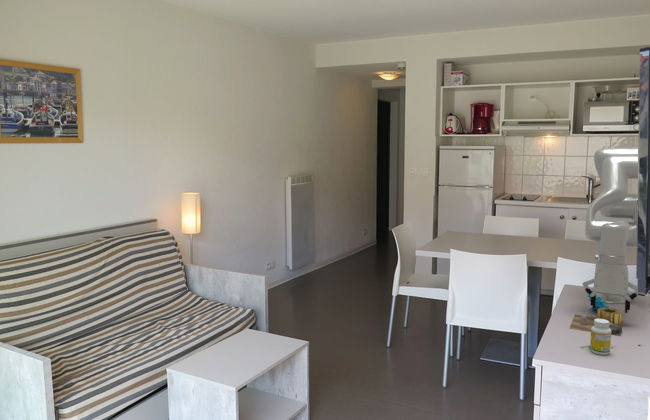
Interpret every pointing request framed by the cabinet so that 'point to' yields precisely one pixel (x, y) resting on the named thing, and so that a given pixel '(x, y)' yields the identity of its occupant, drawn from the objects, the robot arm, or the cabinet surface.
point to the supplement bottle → (600, 337)
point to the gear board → (592, 324)
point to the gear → (598, 303)
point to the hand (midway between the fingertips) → (609, 309)
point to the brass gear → (610, 315)
